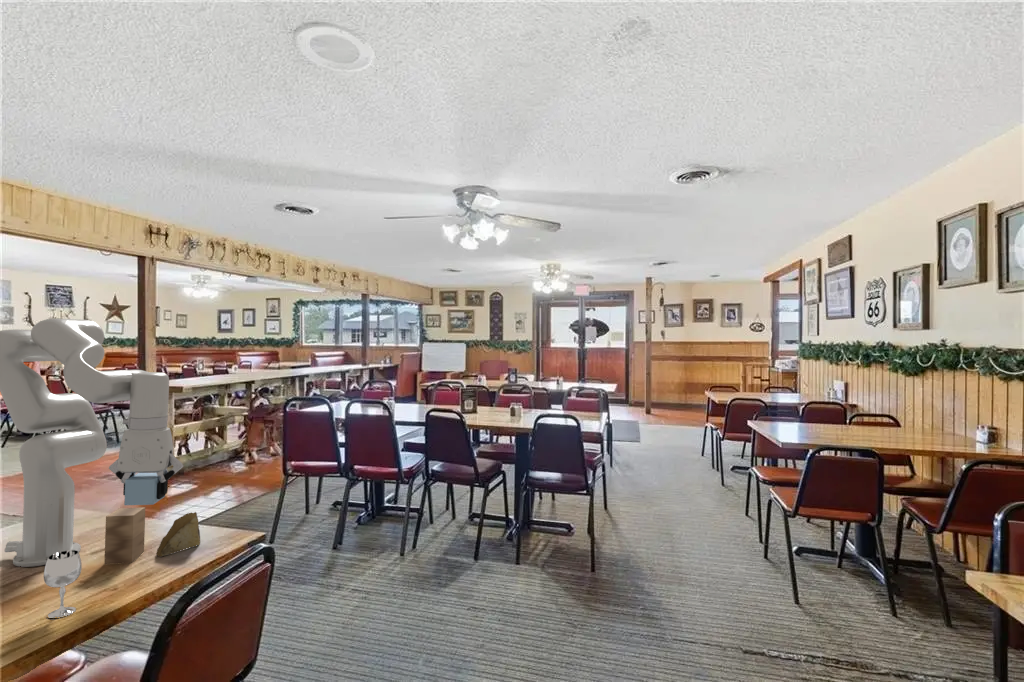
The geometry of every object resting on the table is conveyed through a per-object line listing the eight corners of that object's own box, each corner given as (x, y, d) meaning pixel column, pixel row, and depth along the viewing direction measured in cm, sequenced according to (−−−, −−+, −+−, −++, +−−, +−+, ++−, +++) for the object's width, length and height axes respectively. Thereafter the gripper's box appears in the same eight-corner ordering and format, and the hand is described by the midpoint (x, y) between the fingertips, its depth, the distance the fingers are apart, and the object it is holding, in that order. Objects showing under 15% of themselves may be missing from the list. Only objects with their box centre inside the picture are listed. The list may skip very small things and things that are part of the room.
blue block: (124, 505, 115) (125, 479, 115) (137, 497, 121) (138, 472, 121) (153, 504, 117) (154, 479, 117) (165, 496, 122) (166, 472, 122)
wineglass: (47, 609, 102) (49, 552, 102) (83, 603, 105) (85, 547, 105) (37, 624, 97) (39, 563, 97) (75, 616, 100) (77, 557, 100)
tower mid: (105, 540, 122) (105, 516, 122) (118, 531, 128) (119, 508, 128) (132, 539, 124) (133, 515, 124) (144, 529, 130) (145, 507, 130)
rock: (153, 554, 124) (199, 541, 129) (151, 521, 128) (196, 510, 133) (159, 565, 132) (203, 552, 137) (157, 533, 136) (200, 522, 141)
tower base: (104, 564, 122) (105, 540, 122) (117, 554, 128) (118, 531, 128) (131, 562, 124) (132, 539, 124) (143, 552, 130) (144, 530, 130)
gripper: (97, 426, 113) (94, 504, 113) (181, 426, 117) (178, 501, 117) (116, 420, 121) (113, 493, 121) (194, 421, 124) (191, 492, 124)
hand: (145, 497), depth 119 cm, fingers closed on blue block, 6 cm apart
